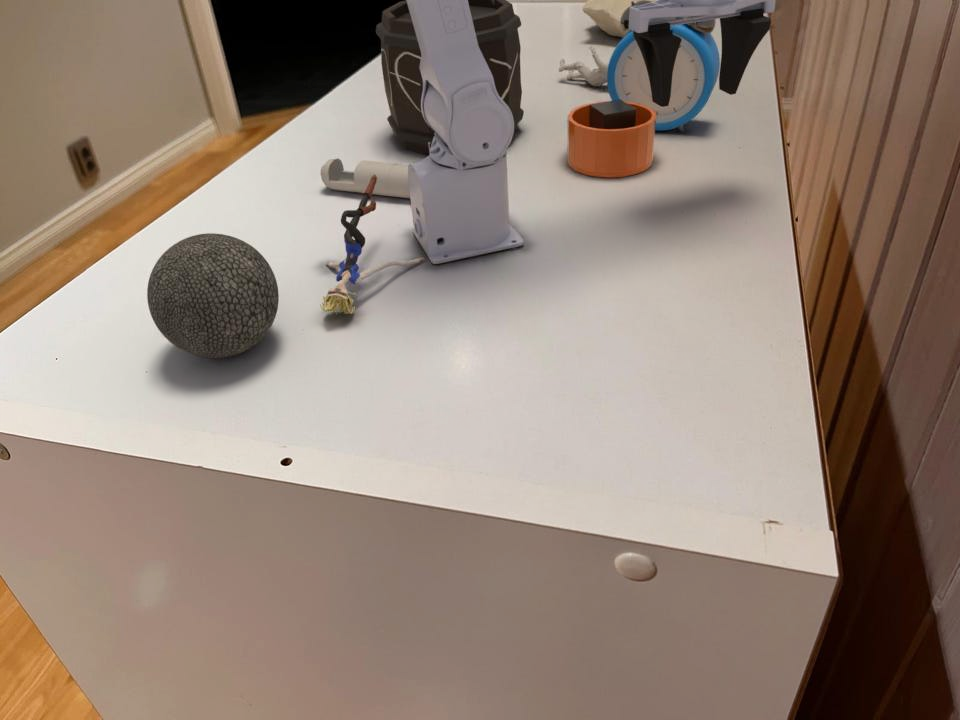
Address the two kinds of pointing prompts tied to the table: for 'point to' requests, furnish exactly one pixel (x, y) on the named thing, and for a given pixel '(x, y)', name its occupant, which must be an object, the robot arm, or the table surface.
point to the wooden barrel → (404, 56)
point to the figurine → (354, 256)
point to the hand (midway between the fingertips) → (694, 97)
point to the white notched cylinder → (368, 177)
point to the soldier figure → (587, 70)
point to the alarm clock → (688, 79)
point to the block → (612, 115)
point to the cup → (611, 144)
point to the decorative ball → (212, 295)
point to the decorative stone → (608, 14)
